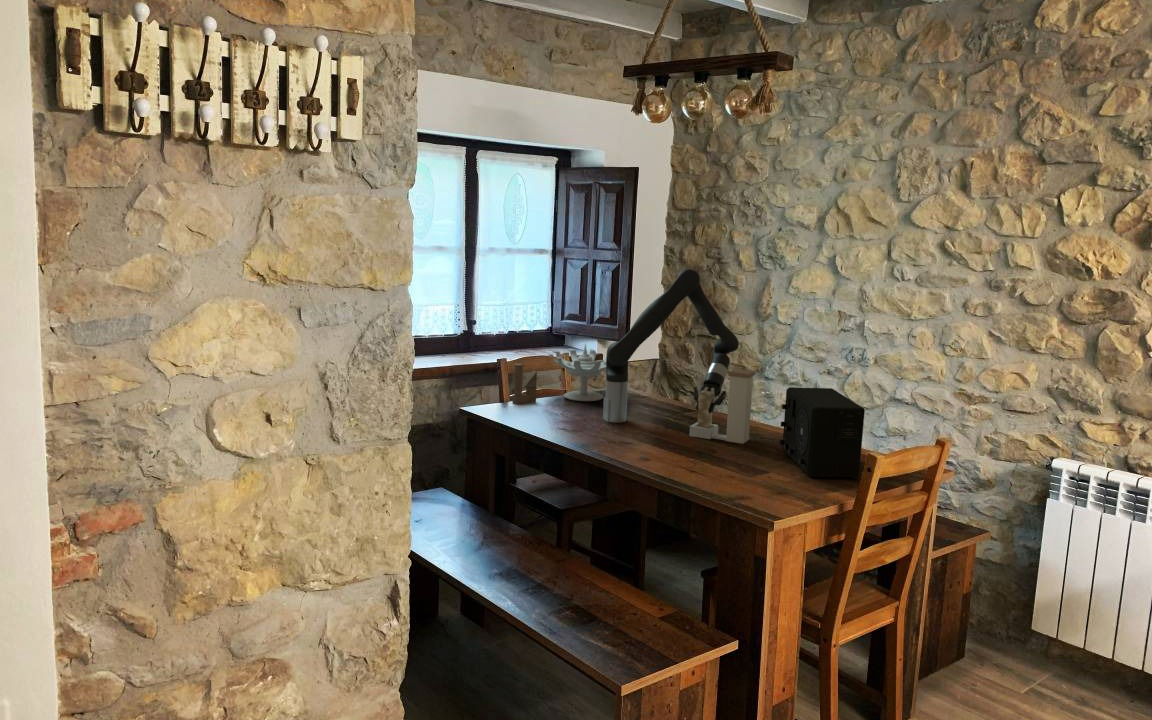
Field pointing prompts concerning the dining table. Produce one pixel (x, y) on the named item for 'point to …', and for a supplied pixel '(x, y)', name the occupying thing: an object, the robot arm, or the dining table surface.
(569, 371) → the candelabra
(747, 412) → the post
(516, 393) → the wooden block
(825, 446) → the vintage radio
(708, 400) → the block
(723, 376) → the robot arm
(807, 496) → the dining table surface
